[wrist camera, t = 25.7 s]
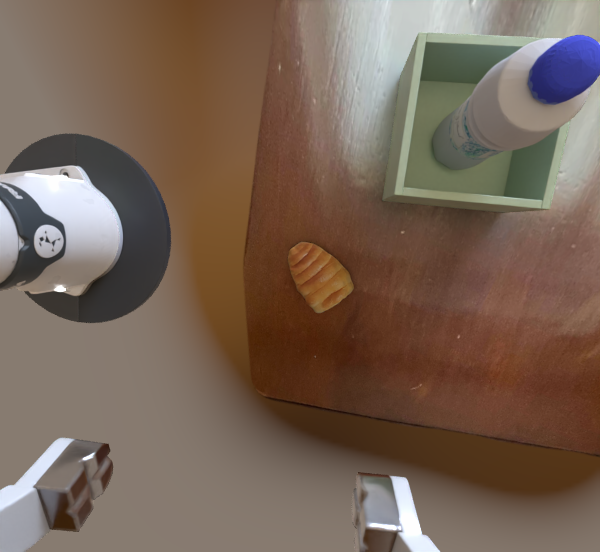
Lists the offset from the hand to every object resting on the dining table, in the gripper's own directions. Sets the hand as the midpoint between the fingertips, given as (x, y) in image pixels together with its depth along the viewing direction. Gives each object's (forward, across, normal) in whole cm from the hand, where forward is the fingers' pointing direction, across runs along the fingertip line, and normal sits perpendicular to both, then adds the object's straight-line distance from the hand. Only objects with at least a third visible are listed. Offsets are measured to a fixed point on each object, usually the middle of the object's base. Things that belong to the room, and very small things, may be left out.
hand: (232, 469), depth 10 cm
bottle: (+35, -18, -12) cm, 41 cm away
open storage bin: (+36, -18, -12) cm, 41 cm away
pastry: (+33, -3, +6) cm, 34 cm away
